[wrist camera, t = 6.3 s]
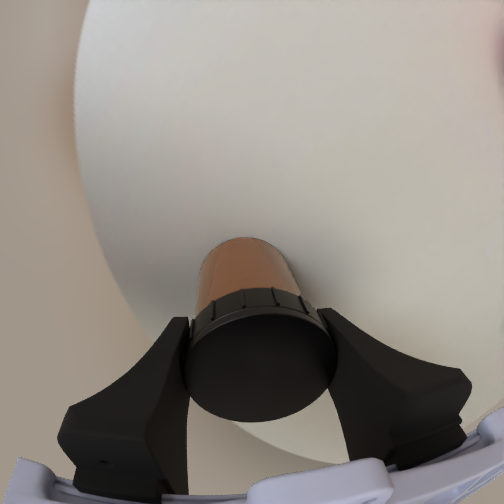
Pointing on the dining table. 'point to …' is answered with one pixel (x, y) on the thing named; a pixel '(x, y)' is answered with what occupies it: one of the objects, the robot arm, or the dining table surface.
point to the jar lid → (258, 355)
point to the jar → (242, 270)
